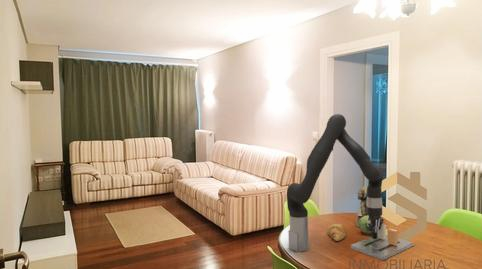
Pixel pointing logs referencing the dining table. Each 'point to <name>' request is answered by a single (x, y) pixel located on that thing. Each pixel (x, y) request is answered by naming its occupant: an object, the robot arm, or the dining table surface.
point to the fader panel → (381, 247)
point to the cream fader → (382, 232)
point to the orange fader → (392, 236)
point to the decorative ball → (363, 226)
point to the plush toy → (362, 204)
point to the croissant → (336, 231)
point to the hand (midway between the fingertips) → (374, 238)
